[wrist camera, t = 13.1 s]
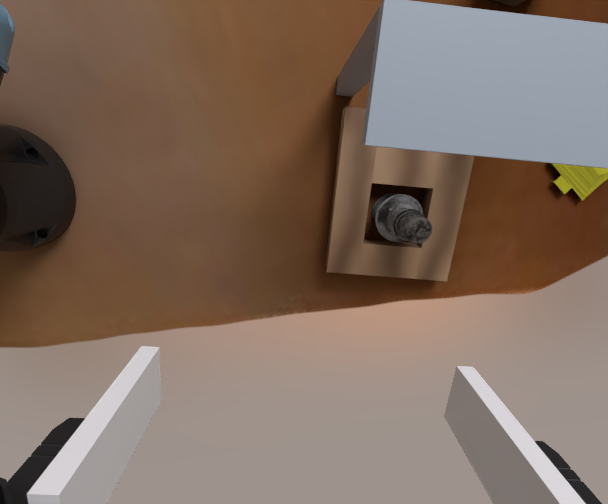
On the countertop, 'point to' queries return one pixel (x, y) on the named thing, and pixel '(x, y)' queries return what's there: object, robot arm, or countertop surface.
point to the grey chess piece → (401, 219)
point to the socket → (404, 172)
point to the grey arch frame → (483, 83)
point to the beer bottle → (510, 2)
